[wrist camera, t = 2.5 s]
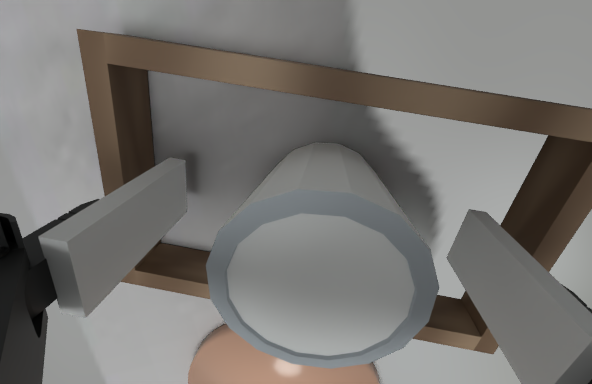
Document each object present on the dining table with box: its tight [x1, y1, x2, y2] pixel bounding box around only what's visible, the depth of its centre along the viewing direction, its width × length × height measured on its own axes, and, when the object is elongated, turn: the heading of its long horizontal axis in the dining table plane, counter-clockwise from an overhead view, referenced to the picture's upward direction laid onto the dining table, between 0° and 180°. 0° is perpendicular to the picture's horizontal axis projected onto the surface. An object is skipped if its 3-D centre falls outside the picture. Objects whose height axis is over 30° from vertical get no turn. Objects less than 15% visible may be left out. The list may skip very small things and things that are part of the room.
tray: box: [77, 29, 592, 354], centre depth 14 cm, size 20×12×2 cm, turn 82°
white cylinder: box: [206, 142, 439, 369], centre depth 12 cm, size 7×7×7 cm
